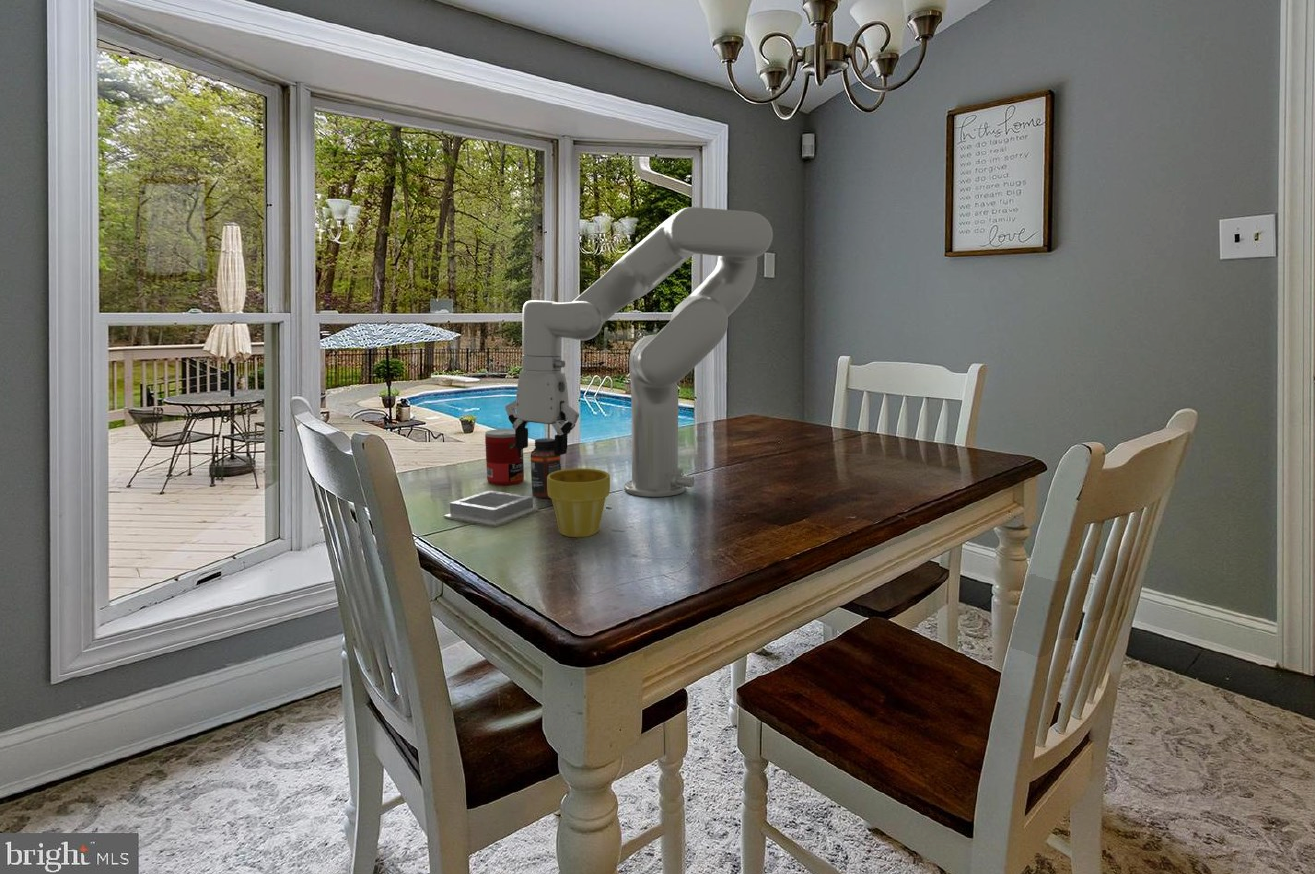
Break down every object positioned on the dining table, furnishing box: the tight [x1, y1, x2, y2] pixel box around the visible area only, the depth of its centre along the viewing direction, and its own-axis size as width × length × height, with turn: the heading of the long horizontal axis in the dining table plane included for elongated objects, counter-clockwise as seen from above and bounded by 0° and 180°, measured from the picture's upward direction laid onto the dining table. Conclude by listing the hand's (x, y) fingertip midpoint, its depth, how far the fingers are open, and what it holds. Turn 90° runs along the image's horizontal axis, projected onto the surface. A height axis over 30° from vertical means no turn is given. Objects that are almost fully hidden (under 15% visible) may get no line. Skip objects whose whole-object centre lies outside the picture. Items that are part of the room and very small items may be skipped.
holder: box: [443, 489, 540, 528], centre depth 133 cm, size 12×12×3 cm
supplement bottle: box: [530, 437, 562, 499], centre depth 146 cm, size 6×6×11 cm
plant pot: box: [547, 467, 611, 538], centre depth 122 cm, size 10×10×10 cm
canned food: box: [484, 428, 525, 487], centre depth 158 cm, size 8×8×11 cm
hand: (540, 451), depth 146 cm, fingers open, 9 cm apart
